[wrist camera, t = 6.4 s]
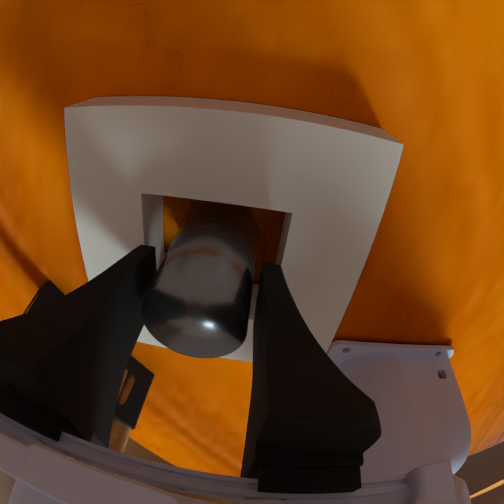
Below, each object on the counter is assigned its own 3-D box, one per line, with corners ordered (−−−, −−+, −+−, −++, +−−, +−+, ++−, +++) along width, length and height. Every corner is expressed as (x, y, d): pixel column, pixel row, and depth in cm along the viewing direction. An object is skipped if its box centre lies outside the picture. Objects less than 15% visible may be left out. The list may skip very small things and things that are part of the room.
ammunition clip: (39, 288, 18) (-46, 426, 8) (49, 278, 18) (-43, 427, 8) (140, 378, 23) (99, 512, 13) (155, 374, 22) (114, 517, 12)
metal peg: (263, 201, 14) (253, 293, 9) (254, 265, 16) (241, 364, 11) (185, 191, 14) (134, 274, 9) (184, 254, 16) (147, 347, 11)
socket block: (382, 128, 11) (404, 144, 9) (316, 334, 18) (318, 368, 16) (96, 97, 11) (64, 107, 9) (118, 303, 18) (103, 333, 16)
